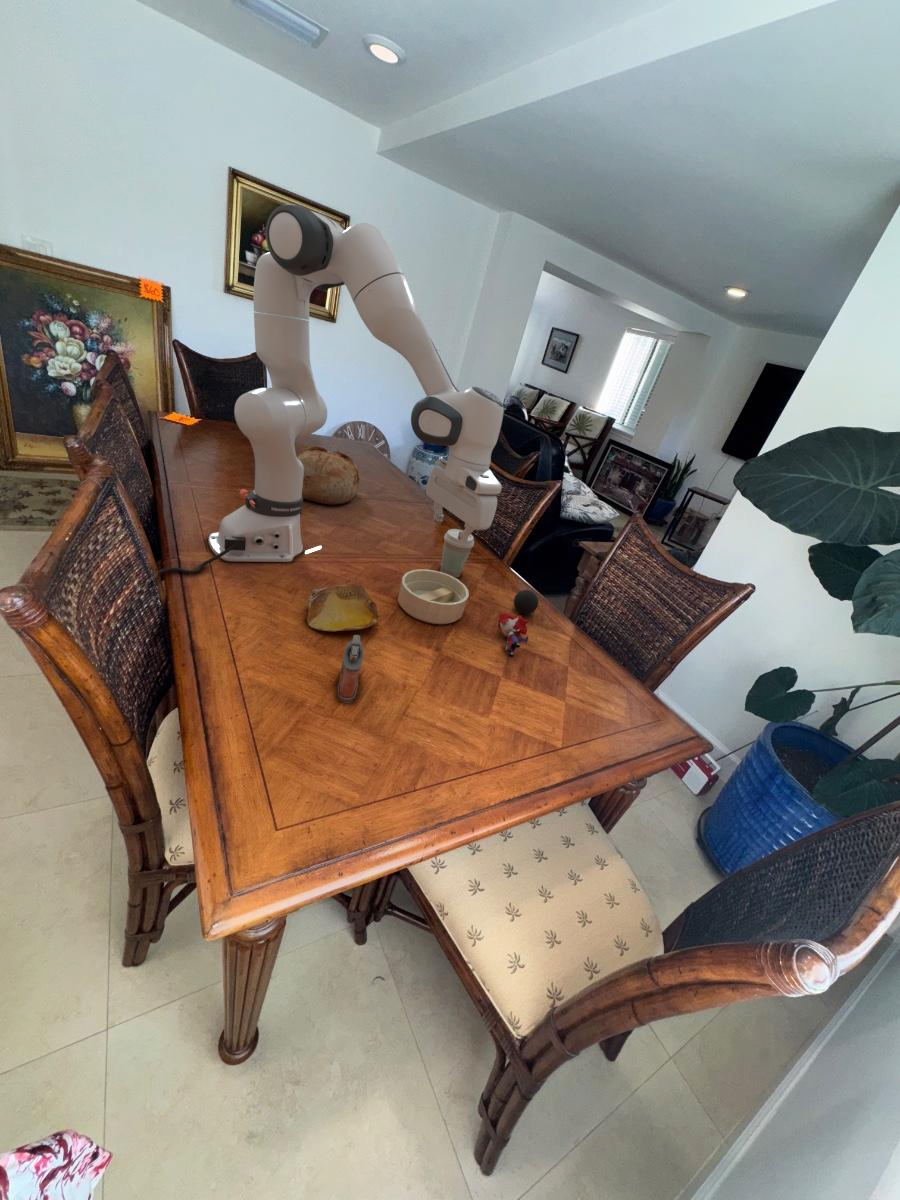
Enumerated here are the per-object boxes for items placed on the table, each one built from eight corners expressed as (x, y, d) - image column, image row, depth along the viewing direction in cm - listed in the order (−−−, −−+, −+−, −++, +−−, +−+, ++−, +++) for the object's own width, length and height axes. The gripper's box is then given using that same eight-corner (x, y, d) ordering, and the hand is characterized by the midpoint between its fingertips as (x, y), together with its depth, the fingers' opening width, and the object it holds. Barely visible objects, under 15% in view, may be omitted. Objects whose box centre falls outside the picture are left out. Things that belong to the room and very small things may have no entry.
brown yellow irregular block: (391, 622, 100) (321, 613, 93) (378, 648, 104) (310, 641, 96) (374, 574, 112) (310, 563, 104) (363, 599, 116) (300, 590, 108)
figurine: (494, 656, 105) (489, 620, 119) (527, 670, 107) (518, 633, 120) (509, 634, 103) (502, 600, 116) (543, 648, 105) (532, 613, 118)
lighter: (340, 671, 90) (348, 627, 85) (358, 674, 91) (367, 630, 86) (335, 701, 83) (343, 655, 78) (355, 703, 84) (364, 658, 79)
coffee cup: (461, 583, 134) (473, 544, 128) (432, 574, 134) (442, 535, 129) (466, 571, 141) (477, 534, 136) (439, 562, 142) (449, 525, 136)
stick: (418, 613, 113) (421, 603, 112) (410, 607, 114) (412, 597, 113) (450, 601, 122) (453, 591, 121) (442, 595, 123) (445, 586, 122)
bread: (347, 513, 157) (354, 468, 150) (275, 496, 155) (279, 449, 148) (361, 489, 180) (368, 450, 173) (299, 474, 178) (303, 433, 171)
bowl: (421, 631, 108) (427, 608, 105) (384, 593, 118) (389, 572, 116) (475, 619, 118) (482, 599, 116) (437, 586, 129) (442, 566, 126)
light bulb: (536, 588, 133) (540, 591, 123) (534, 611, 133) (538, 616, 124) (513, 586, 133) (515, 590, 123) (511, 609, 134) (513, 614, 124)
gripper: (427, 453, 107) (413, 511, 113) (485, 489, 94) (466, 552, 101) (449, 455, 111) (434, 511, 117) (507, 490, 98) (487, 550, 105)
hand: (449, 530), depth 109 cm, fingers open, 8 cm apart
